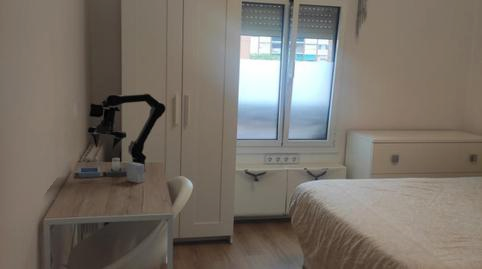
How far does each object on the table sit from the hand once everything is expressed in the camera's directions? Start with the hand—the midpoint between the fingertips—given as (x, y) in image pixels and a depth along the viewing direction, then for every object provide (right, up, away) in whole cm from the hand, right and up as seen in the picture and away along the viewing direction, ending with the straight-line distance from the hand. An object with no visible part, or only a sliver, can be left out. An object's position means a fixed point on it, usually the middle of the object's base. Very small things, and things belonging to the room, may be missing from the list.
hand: (104, 148), depth 226 cm
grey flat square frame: (+5, -13, +2) cm, 14 cm away
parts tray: (-7, -13, -3) cm, 15 cm away
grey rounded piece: (+5, -13, +2) cm, 14 cm away
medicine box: (+19, -16, -12) cm, 27 cm away
